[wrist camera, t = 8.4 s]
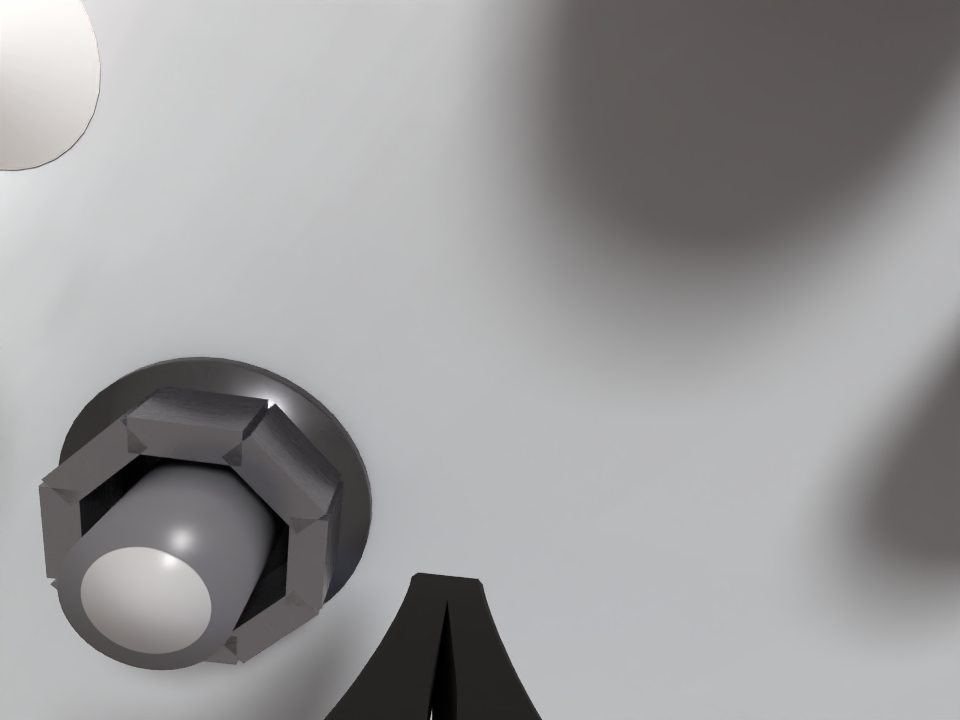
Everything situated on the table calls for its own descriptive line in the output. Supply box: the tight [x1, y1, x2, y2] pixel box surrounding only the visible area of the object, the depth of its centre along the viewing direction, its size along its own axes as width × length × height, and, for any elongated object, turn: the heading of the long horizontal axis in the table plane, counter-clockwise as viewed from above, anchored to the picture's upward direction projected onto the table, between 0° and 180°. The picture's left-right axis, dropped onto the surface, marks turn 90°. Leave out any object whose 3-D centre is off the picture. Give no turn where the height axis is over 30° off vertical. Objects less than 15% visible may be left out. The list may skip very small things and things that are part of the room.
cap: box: [57, 457, 285, 670], centre depth 20 cm, size 5×5×5 cm
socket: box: [39, 357, 372, 665], centre depth 22 cm, size 11×11×3 cm
